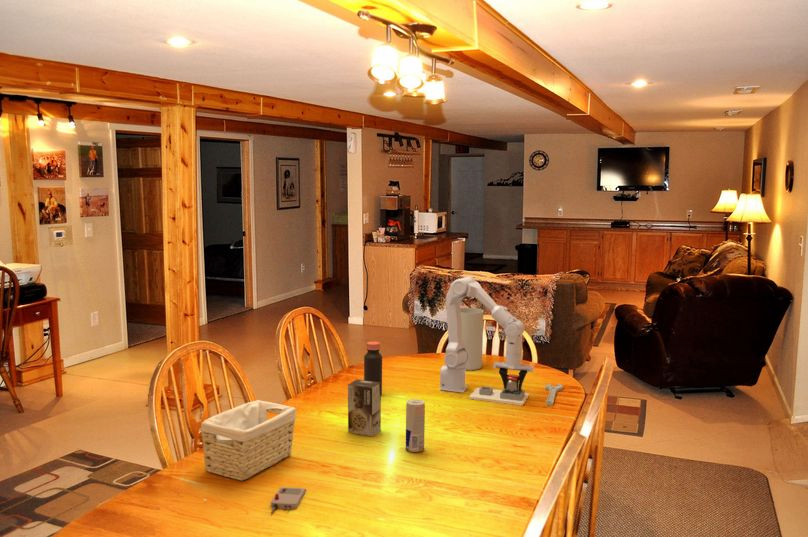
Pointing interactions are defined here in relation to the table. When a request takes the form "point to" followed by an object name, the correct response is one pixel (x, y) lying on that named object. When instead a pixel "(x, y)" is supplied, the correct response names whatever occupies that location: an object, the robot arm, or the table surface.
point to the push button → (512, 384)
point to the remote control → (287, 498)
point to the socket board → (499, 396)
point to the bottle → (373, 363)
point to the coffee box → (364, 407)
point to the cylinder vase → (472, 336)
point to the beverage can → (415, 425)
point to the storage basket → (247, 439)
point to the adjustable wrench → (552, 393)
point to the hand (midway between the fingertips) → (512, 388)
